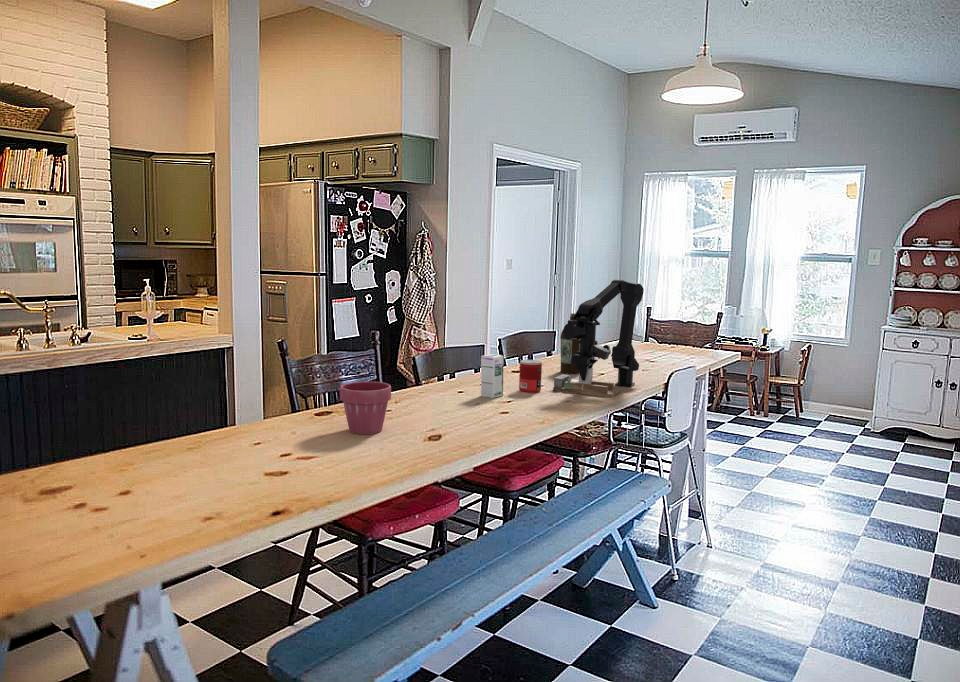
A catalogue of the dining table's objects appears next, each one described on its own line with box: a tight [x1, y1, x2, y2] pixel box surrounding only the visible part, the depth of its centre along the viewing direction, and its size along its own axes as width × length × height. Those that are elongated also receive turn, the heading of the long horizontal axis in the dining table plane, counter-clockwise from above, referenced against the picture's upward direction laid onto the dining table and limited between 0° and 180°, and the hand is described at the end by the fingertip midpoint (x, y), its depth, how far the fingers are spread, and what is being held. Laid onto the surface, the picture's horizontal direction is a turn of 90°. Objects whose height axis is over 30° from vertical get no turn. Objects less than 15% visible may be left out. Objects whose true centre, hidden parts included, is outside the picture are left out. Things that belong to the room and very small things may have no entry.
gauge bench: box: [552, 373, 620, 398], centre depth 264 cm, size 11×22×4 cm, turn 64°
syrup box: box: [480, 353, 504, 399], centre depth 250 cm, size 6×6×14 cm
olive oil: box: [559, 312, 580, 375], centre depth 303 cm, size 11×11×25 cm
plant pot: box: [339, 381, 392, 435], centre depth 200 cm, size 14×14×13 cm
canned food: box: [518, 359, 543, 394], centre depth 262 cm, size 8×8×11 cm
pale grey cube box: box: [566, 367, 594, 384], centre depth 264 cm, size 7×8×7 cm
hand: (585, 379), depth 264 cm, fingers closed on pale grey cube box, 4 cm apart
